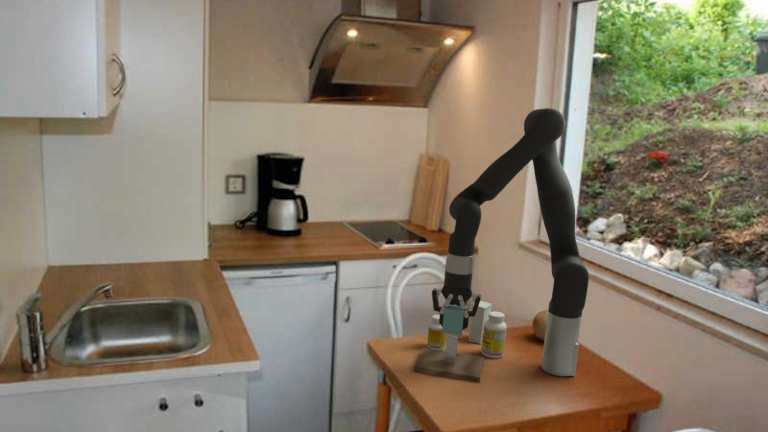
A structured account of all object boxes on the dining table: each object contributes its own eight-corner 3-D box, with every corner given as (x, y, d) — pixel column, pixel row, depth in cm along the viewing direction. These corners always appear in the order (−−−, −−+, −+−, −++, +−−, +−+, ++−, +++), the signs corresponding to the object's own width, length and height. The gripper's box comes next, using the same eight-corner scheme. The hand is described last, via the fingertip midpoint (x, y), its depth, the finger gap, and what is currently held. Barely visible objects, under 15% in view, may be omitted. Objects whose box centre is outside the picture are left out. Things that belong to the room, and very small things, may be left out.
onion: (545, 347, 202) (549, 317, 200) (524, 336, 211) (527, 307, 209) (568, 343, 207) (571, 314, 205) (546, 332, 215) (550, 304, 213)
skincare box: (480, 344, 201) (484, 308, 199) (468, 341, 203) (471, 304, 201) (488, 339, 206) (492, 303, 204) (476, 335, 208) (479, 300, 206)
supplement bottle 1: (443, 351, 194) (446, 320, 192) (425, 349, 194) (428, 318, 193) (445, 345, 199) (448, 315, 197) (428, 342, 200) (430, 312, 198)
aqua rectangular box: (463, 329, 183) (466, 305, 182) (461, 336, 178) (463, 311, 176) (444, 326, 184) (447, 302, 183) (441, 332, 179) (444, 308, 178)
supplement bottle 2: (477, 350, 196) (481, 310, 194) (497, 349, 198) (501, 309, 196) (486, 359, 190) (491, 318, 187) (507, 358, 192) (511, 317, 189)
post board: (483, 362, 188) (484, 357, 187) (479, 382, 174) (479, 377, 174) (422, 352, 191) (423, 348, 191) (414, 371, 178) (414, 366, 178)
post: (455, 360, 184) (458, 336, 182) (454, 364, 181) (456, 339, 180) (445, 359, 184) (448, 334, 183) (444, 363, 182) (446, 338, 180)
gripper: (486, 269, 180) (480, 327, 183) (435, 262, 183) (430, 319, 186) (484, 276, 172) (477, 336, 176) (431, 269, 175) (425, 328, 179)
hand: (453, 327), depth 181 cm, fingers closed on aqua rectangular box, 5 cm apart
